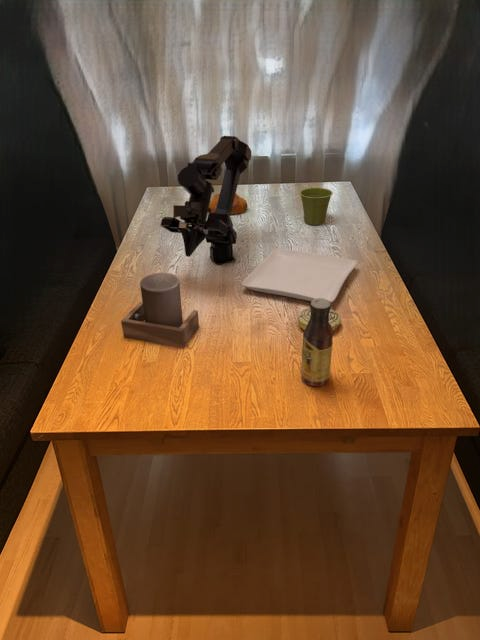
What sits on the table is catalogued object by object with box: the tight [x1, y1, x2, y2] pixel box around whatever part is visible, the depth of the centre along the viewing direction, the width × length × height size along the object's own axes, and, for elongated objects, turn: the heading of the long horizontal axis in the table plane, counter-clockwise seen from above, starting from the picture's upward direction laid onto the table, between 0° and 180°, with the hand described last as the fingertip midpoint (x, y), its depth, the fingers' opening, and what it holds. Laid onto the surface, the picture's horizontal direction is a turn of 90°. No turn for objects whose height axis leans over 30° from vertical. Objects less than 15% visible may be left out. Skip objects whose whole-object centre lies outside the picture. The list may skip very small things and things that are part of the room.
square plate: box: [241, 248, 359, 304], centre depth 155 cm, size 27×27×4 cm
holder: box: [120, 301, 200, 349], centre depth 133 cm, size 10×16×5 cm, turn 71°
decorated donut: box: [297, 307, 342, 333], centre depth 134 cm, size 10×11×4 cm
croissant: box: [209, 193, 248, 215], centre depth 207 cm, size 14×16×8 cm
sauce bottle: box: [300, 298, 334, 387], centre depth 111 cm, size 7×6×20 cm
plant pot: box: [298, 187, 334, 226], centre depth 192 cm, size 12×12×11 cm
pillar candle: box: [139, 272, 184, 328], centre depth 132 cm, size 10×10×15 cm
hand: (187, 256), depth 144 cm, fingers closed
